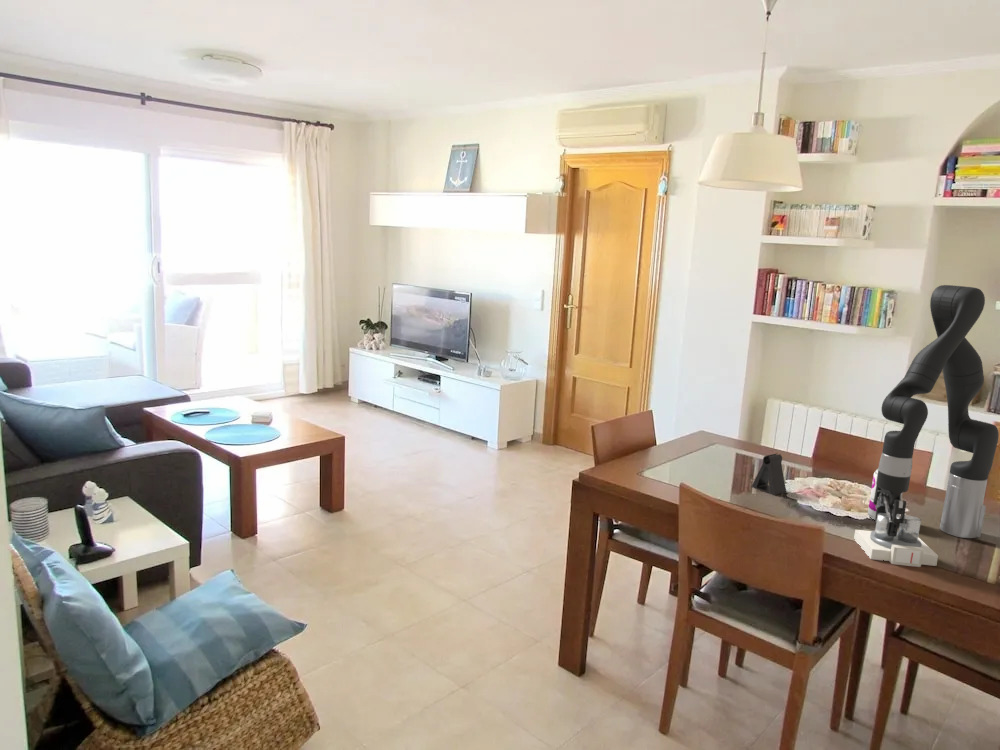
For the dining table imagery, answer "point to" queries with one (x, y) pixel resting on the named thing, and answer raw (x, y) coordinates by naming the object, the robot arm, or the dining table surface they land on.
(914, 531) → the silver metal block
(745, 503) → the dining table surface
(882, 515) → the cylinder
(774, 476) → the black triangular stand
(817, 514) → the dining table surface
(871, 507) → the supplement can
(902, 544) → the scale
